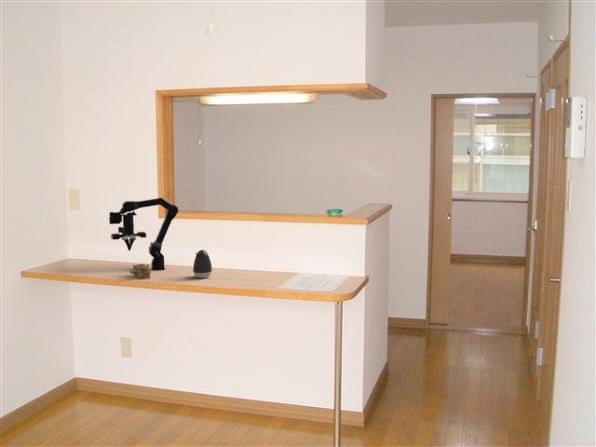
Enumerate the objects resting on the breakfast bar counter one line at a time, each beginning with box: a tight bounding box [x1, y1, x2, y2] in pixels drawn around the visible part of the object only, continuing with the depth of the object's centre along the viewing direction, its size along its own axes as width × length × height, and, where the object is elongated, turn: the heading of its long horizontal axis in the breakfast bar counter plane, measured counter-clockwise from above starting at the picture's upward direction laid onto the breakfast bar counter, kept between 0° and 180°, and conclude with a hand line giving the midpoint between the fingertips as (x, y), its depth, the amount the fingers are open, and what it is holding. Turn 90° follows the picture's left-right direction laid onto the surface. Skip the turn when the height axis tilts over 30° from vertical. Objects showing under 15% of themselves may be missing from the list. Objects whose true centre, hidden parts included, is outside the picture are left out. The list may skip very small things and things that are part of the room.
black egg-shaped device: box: [192, 249, 213, 279], centre depth 333 cm, size 10×10×15 cm
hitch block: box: [132, 263, 151, 280], centre depth 335 cm, size 6×12×6 cm, turn 28°
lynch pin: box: [129, 263, 151, 275], centre depth 335 cm, size 10×5×6 cm, turn 118°
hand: (129, 250), depth 350 cm, fingers closed
